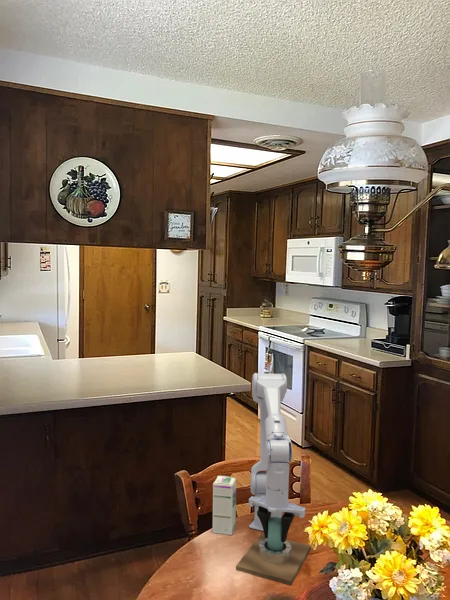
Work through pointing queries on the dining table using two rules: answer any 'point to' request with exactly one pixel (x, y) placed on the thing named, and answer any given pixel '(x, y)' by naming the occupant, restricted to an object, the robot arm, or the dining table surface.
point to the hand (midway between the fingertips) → (275, 538)
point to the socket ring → (275, 553)
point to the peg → (274, 534)
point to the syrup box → (224, 505)
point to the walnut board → (274, 571)
